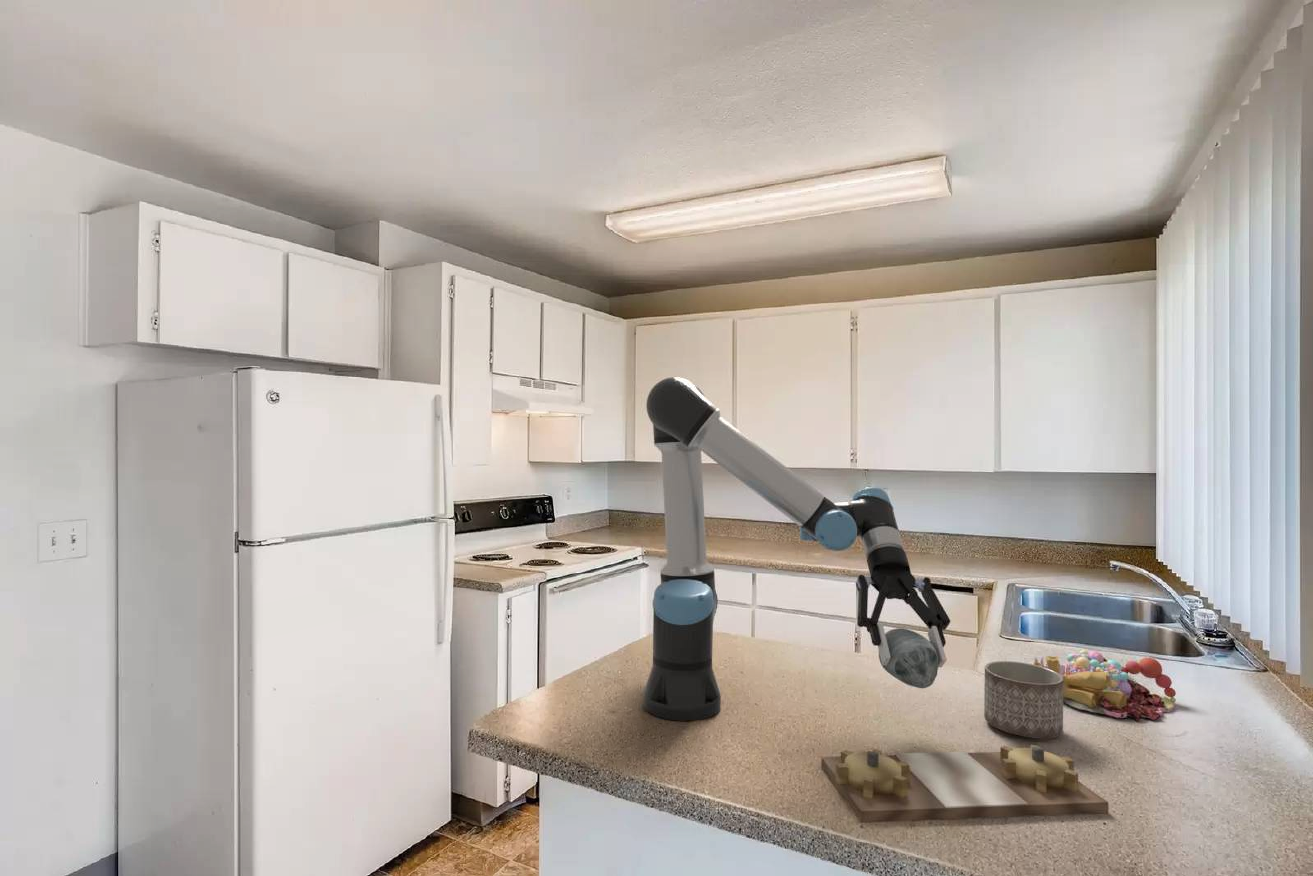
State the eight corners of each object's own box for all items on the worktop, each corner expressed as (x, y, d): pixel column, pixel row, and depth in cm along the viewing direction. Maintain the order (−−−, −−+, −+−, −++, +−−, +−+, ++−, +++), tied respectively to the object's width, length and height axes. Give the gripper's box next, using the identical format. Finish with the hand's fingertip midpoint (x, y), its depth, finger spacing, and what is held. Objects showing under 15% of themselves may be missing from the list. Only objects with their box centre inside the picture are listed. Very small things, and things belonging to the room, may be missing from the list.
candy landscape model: (1151, 733, 123) (1151, 683, 123) (1014, 696, 141) (1015, 651, 141) (1184, 701, 140) (1184, 656, 140) (1058, 671, 157) (1059, 631, 157)
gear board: (858, 822, 92) (858, 781, 92) (819, 766, 108) (819, 731, 108) (1111, 812, 95) (1111, 773, 95) (1036, 760, 111) (1036, 726, 111)
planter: (988, 737, 120) (988, 678, 120) (980, 711, 132) (981, 657, 132) (1070, 749, 115) (1070, 688, 116) (1054, 721, 127) (1055, 666, 127)
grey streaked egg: (958, 676, 112) (927, 619, 115) (905, 700, 113) (876, 642, 116) (937, 670, 125) (910, 619, 128) (890, 691, 126) (864, 640, 129)
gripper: (934, 568, 136) (968, 674, 120) (826, 564, 136) (847, 670, 120) (946, 546, 131) (984, 654, 115) (834, 542, 131) (857, 650, 115)
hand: (914, 662), depth 117 cm, fingers closed on grey streaked egg, 9 cm apart
